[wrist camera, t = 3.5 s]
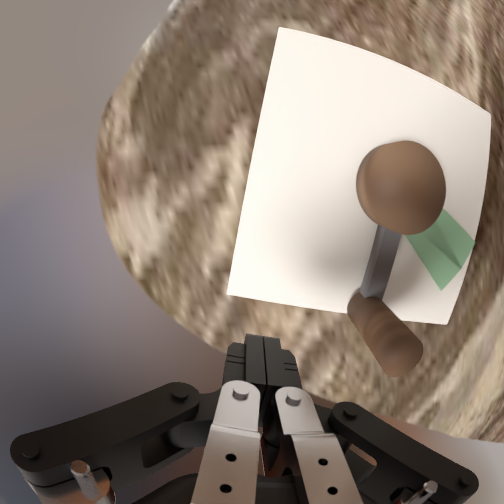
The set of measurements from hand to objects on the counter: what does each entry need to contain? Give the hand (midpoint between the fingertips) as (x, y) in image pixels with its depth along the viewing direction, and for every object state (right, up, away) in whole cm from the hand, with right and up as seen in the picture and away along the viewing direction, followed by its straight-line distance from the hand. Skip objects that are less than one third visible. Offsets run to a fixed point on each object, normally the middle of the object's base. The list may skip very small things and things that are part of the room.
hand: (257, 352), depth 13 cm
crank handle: (+9, +6, +6) cm, 12 cm away
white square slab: (+10, +10, +9) cm, 17 cm away
